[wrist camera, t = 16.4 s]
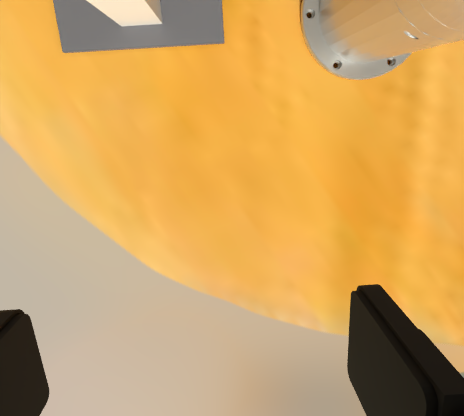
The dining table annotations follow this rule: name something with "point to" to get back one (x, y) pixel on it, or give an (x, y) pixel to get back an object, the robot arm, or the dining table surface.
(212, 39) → the rubber mat
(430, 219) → the dining table surface
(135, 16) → the white rectangular block
